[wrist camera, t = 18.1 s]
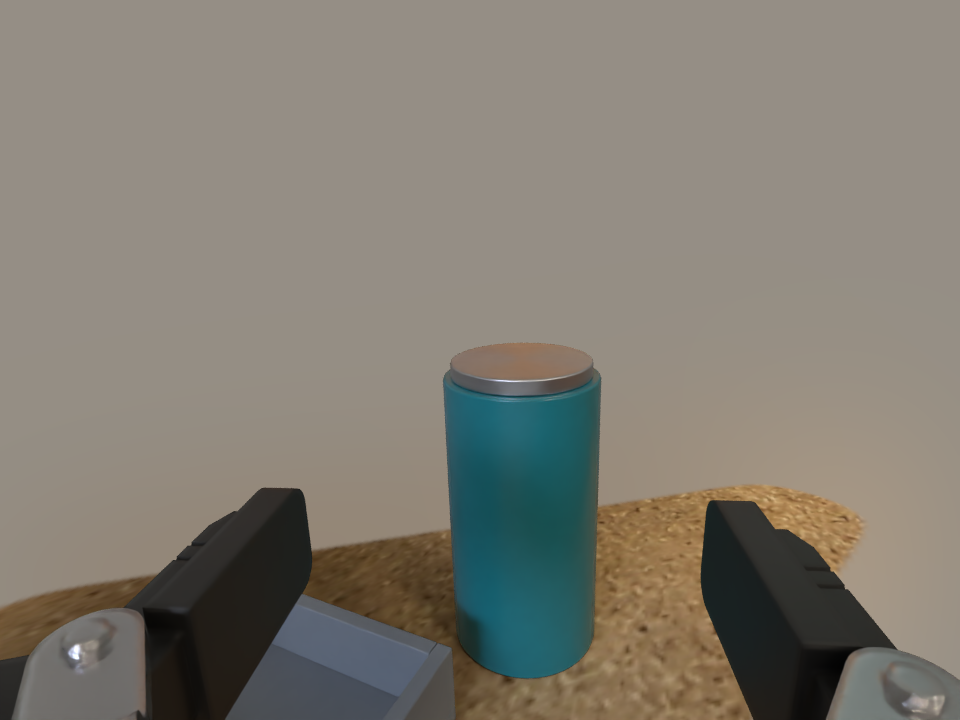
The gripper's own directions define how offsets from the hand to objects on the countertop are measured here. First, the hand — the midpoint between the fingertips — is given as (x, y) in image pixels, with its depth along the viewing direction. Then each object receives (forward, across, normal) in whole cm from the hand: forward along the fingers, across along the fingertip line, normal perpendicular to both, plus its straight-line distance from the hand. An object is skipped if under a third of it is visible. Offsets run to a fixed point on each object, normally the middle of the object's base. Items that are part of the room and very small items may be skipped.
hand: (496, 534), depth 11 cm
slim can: (+10, 0, +11) cm, 15 cm away
